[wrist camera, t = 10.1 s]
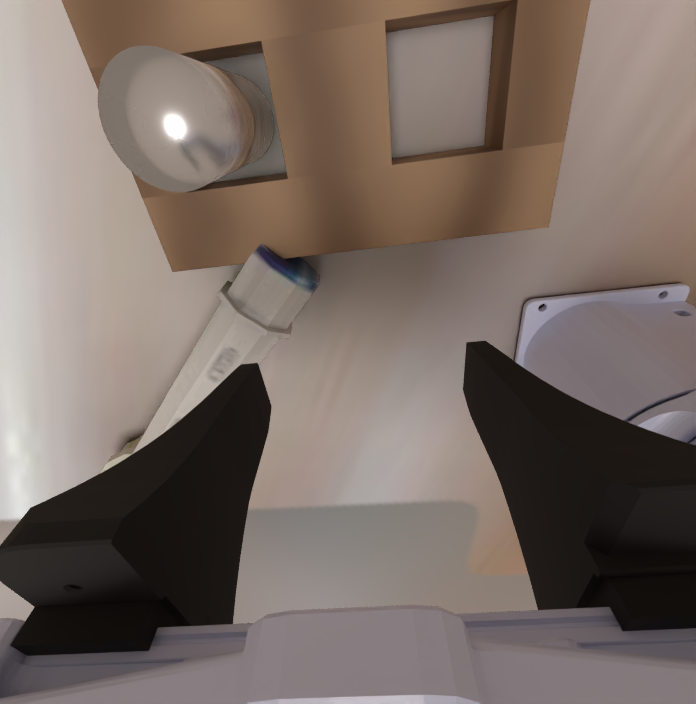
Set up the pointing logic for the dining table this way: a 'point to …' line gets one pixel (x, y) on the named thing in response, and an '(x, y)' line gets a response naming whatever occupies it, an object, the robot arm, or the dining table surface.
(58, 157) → the dining table surface
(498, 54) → the wooden holder tray
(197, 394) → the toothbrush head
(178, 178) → the steel pin
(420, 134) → the dining table surface
